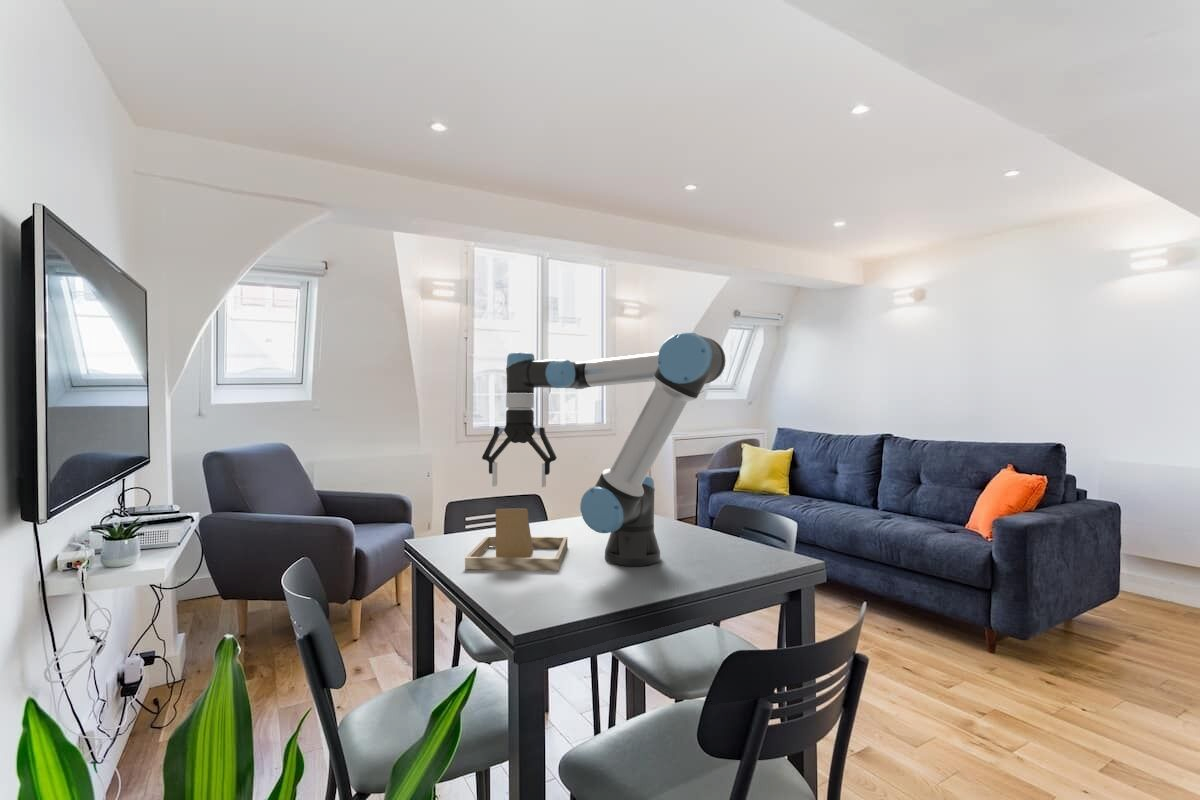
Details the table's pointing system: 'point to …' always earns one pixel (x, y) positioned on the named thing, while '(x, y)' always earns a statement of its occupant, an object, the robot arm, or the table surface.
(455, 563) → the table surface
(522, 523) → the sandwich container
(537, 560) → the pale wooden box
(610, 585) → the table surface
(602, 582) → the table surface
